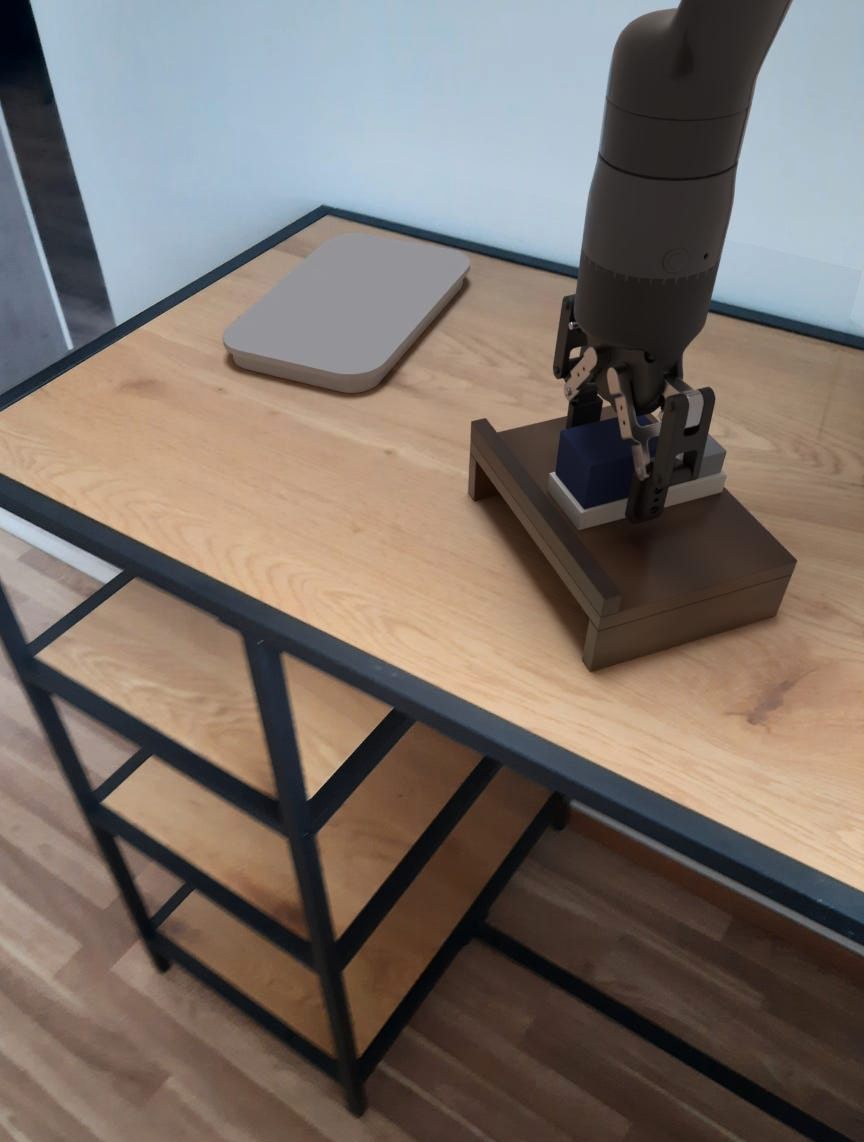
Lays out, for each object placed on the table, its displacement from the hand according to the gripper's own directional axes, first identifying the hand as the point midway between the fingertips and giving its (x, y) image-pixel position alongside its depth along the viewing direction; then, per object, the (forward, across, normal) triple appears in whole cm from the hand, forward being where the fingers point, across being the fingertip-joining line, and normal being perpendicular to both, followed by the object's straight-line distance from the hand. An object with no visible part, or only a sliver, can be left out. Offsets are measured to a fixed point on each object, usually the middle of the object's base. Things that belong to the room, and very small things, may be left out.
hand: (609, 481), depth 63 cm
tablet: (+7, +40, +5) cm, 40 cm away
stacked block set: (+1, 0, -2) cm, 3 cm away
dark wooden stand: (+6, 0, -1) cm, 7 cm away
